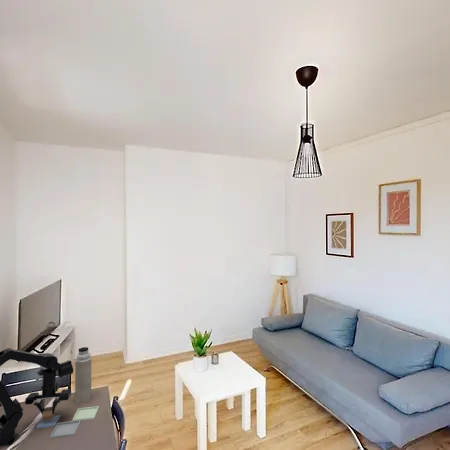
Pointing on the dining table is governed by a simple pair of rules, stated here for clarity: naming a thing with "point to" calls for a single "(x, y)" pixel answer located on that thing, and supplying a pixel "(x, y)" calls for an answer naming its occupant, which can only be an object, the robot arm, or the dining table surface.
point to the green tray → (85, 413)
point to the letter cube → (47, 414)
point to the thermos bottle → (83, 376)
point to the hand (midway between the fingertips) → (48, 414)
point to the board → (48, 422)
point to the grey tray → (65, 429)
